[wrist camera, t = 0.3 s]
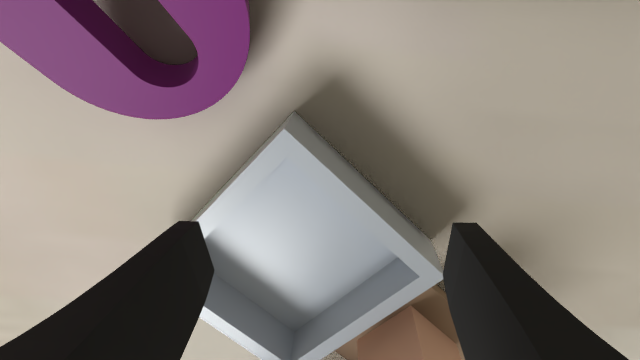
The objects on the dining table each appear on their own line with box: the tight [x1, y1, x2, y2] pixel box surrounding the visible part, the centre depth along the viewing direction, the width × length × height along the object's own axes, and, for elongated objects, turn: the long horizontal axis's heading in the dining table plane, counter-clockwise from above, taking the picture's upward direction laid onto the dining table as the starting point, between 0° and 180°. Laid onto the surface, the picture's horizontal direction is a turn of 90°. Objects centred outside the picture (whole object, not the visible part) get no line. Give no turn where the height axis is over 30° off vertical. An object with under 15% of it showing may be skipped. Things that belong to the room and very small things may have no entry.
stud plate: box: [335, 284, 465, 360], centre depth 23 cm, size 9×9×4 cm
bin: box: [191, 111, 443, 360], centre depth 21 cm, size 13×12×4 cm
